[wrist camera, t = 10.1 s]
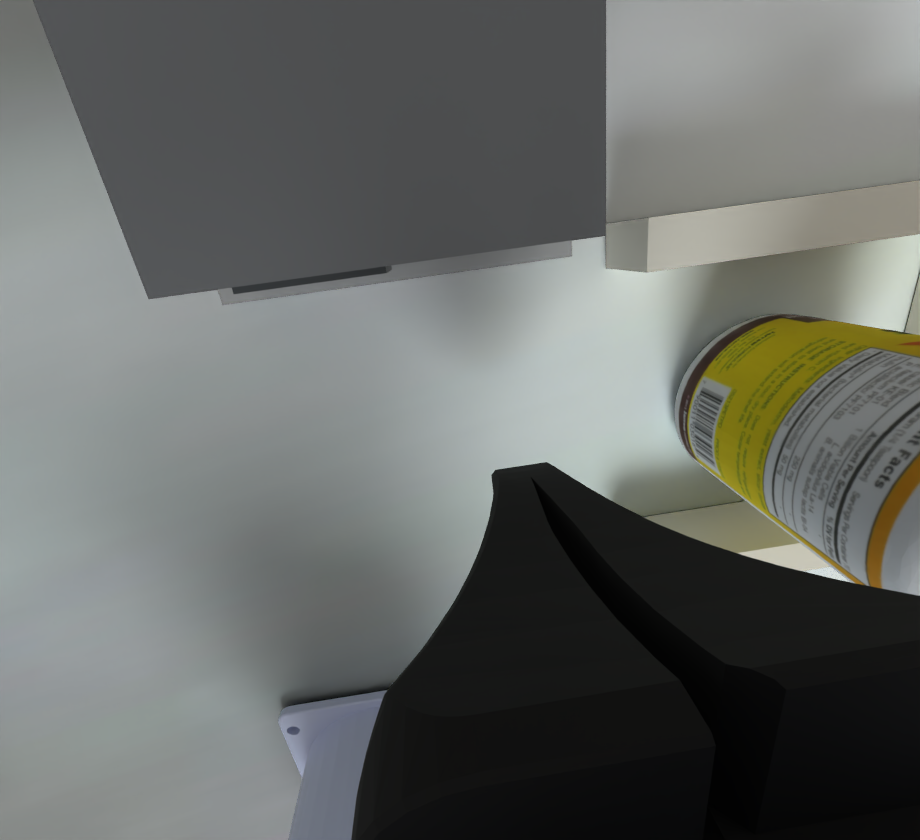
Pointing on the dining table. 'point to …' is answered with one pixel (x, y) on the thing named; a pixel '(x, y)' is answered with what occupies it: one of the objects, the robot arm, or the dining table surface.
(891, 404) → the supplement bottle
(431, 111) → the box
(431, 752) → the robot arm
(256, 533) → the dining table surface
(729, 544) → the tray
